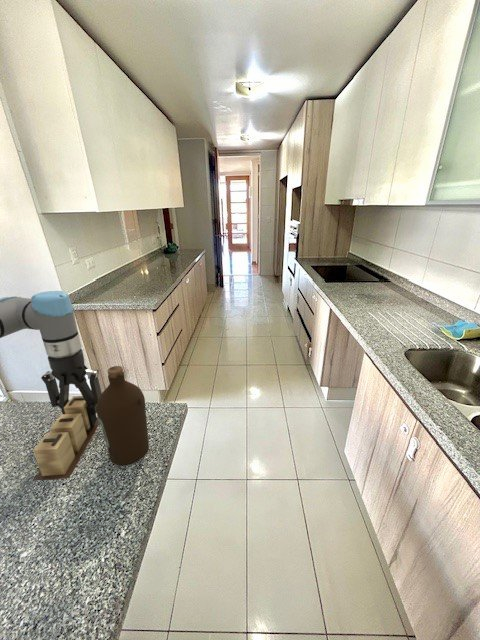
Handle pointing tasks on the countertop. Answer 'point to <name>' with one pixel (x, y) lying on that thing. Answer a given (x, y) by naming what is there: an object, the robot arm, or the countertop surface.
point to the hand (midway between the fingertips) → (83, 423)
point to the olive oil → (123, 419)
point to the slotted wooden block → (78, 409)
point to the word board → (76, 459)
